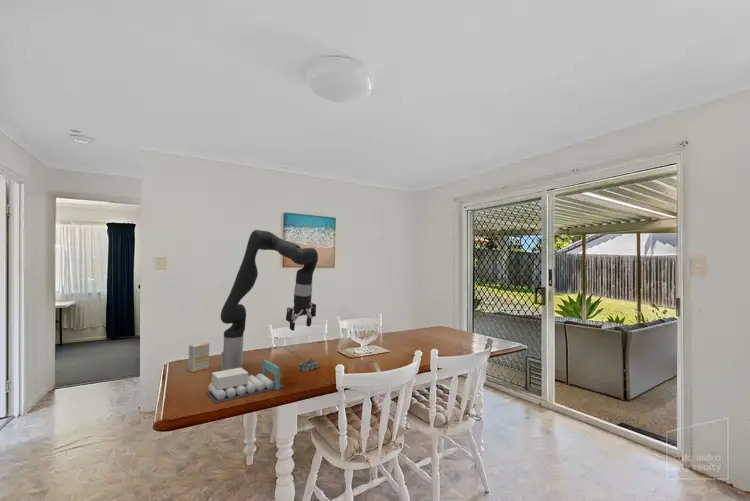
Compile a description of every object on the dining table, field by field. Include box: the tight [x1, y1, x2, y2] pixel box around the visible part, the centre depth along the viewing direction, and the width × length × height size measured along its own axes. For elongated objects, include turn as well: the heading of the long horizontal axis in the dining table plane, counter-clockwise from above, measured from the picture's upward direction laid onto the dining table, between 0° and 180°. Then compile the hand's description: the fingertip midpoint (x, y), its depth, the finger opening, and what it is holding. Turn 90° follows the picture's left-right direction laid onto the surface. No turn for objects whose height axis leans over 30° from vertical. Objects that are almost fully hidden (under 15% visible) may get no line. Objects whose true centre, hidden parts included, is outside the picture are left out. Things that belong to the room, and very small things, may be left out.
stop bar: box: [262, 359, 281, 391], centre depth 155 cm, size 2×16×9 cm, turn 39°
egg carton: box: [296, 358, 320, 372], centre depth 180 cm, size 11×8×4 cm
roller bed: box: [205, 373, 286, 404], centre depth 148 cm, size 29×14×4 cm, turn 129°
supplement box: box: [187, 342, 210, 373], centre depth 175 cm, size 8×5×13 cm, turn 146°
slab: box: [211, 367, 249, 390], centre depth 144 cm, size 12×9×4 cm
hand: (300, 328), depth 153 cm, fingers open, 8 cm apart
